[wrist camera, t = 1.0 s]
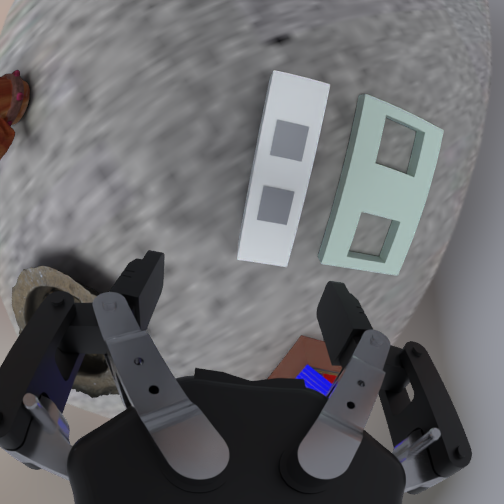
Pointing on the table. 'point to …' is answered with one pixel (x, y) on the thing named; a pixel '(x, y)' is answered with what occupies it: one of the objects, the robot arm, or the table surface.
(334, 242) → the hole board
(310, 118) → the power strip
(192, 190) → the table surface
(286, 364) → the house
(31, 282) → the stone bowl
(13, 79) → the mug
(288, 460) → the robot arm
